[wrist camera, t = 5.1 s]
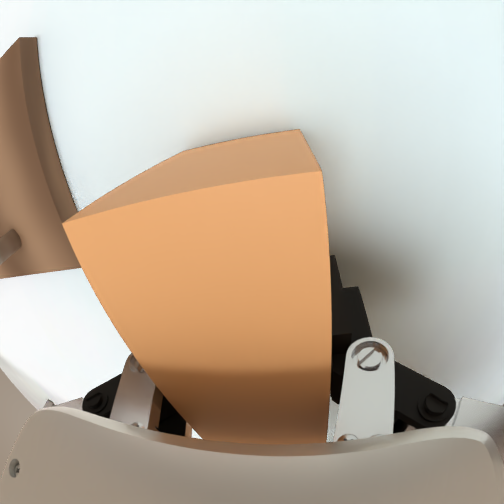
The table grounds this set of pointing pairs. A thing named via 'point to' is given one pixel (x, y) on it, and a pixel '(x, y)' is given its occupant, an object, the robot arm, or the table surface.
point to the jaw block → (222, 285)
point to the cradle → (30, 173)
